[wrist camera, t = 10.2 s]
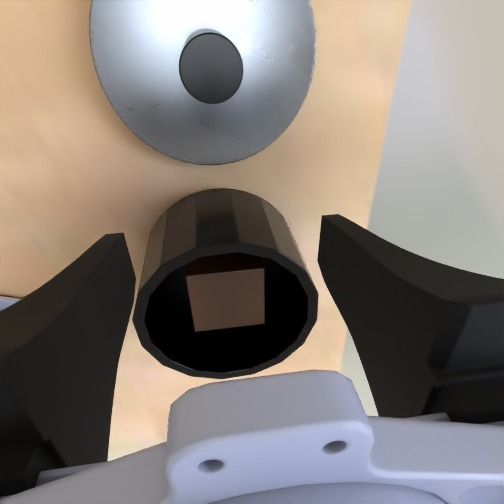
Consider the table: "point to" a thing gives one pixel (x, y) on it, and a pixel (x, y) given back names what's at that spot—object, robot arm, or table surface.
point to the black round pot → (215, 243)
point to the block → (226, 291)
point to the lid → (204, 71)
